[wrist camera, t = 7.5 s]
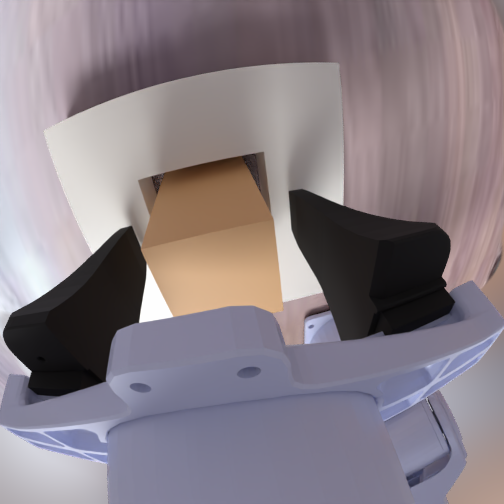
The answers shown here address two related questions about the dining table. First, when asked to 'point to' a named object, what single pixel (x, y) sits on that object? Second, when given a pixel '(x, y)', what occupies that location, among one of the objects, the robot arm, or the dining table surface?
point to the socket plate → (206, 152)
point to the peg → (213, 240)
